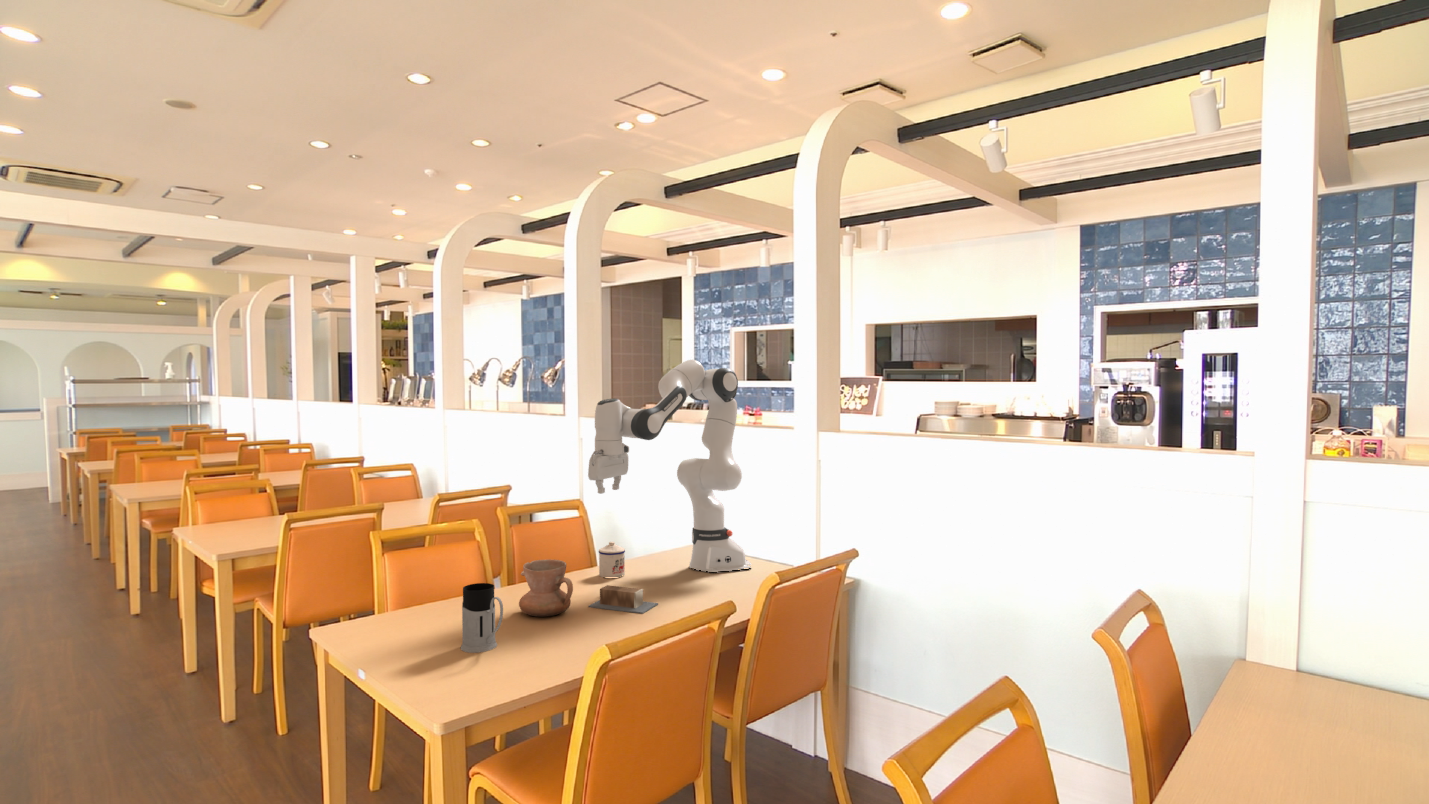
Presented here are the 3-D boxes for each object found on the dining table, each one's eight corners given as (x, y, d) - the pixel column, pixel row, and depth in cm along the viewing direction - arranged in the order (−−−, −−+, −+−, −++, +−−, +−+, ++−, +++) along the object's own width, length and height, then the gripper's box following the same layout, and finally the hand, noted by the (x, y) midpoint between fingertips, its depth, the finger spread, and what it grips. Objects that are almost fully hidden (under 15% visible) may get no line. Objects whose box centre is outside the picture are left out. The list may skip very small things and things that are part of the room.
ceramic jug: (504, 615, 214) (504, 565, 214) (539, 601, 227) (539, 555, 227) (553, 626, 206) (554, 574, 205) (587, 611, 218) (587, 563, 218)
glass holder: (484, 638, 195) (483, 580, 194) (517, 650, 186) (517, 589, 185) (453, 647, 188) (453, 587, 188) (486, 660, 179) (486, 597, 178)
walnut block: (599, 588, 224) (635, 592, 220) (607, 585, 228) (642, 589, 224) (599, 603, 224) (635, 608, 220) (607, 600, 228) (642, 604, 224)
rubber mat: (588, 607, 222) (588, 605, 222) (605, 598, 231) (605, 597, 231) (643, 613, 216) (643, 612, 216) (658, 604, 225) (658, 603, 225)
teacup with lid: (615, 580, 253) (615, 545, 253) (593, 577, 257) (593, 543, 257) (634, 572, 264) (634, 539, 264) (612, 569, 268) (612, 537, 268)
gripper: (600, 451, 233) (600, 496, 233) (631, 446, 252) (631, 488, 252) (583, 451, 235) (583, 495, 236) (615, 446, 254) (615, 487, 255)
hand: (608, 491), depth 244 cm, fingers open, 8 cm apart
